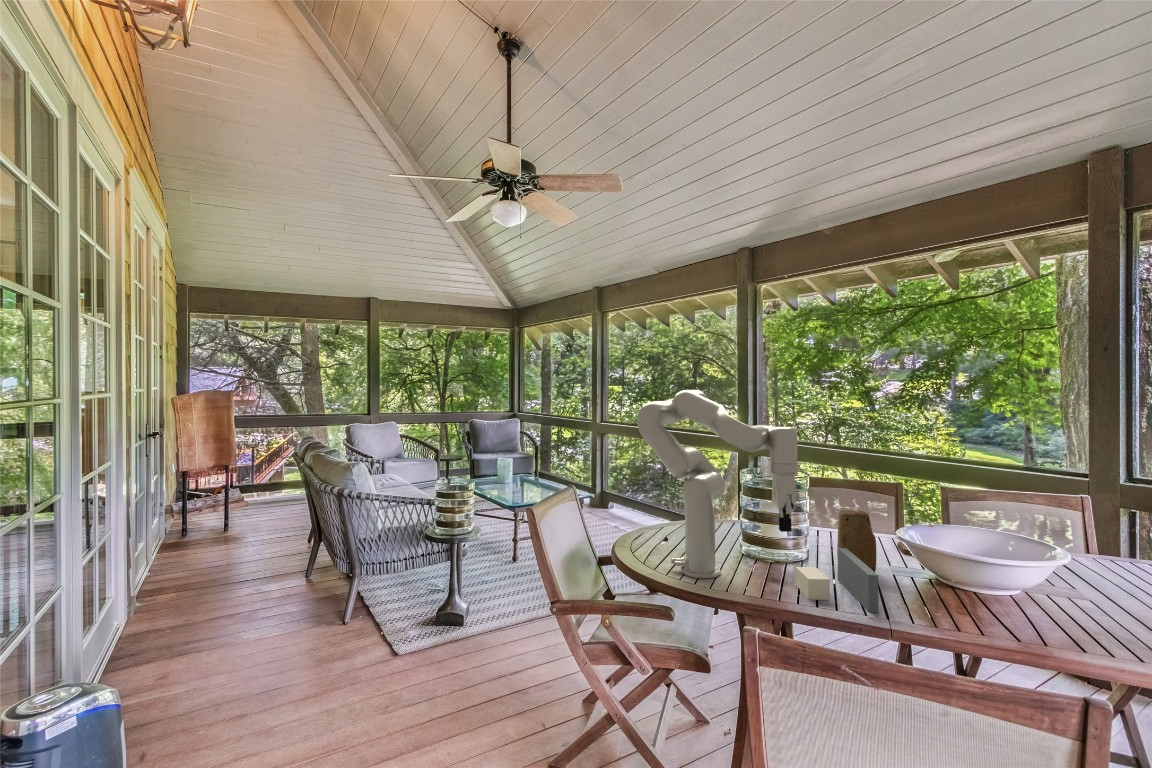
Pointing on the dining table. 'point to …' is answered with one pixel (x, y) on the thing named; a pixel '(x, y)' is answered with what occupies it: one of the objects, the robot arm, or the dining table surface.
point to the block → (857, 536)
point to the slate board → (858, 579)
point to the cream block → (813, 583)
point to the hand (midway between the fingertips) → (785, 530)
